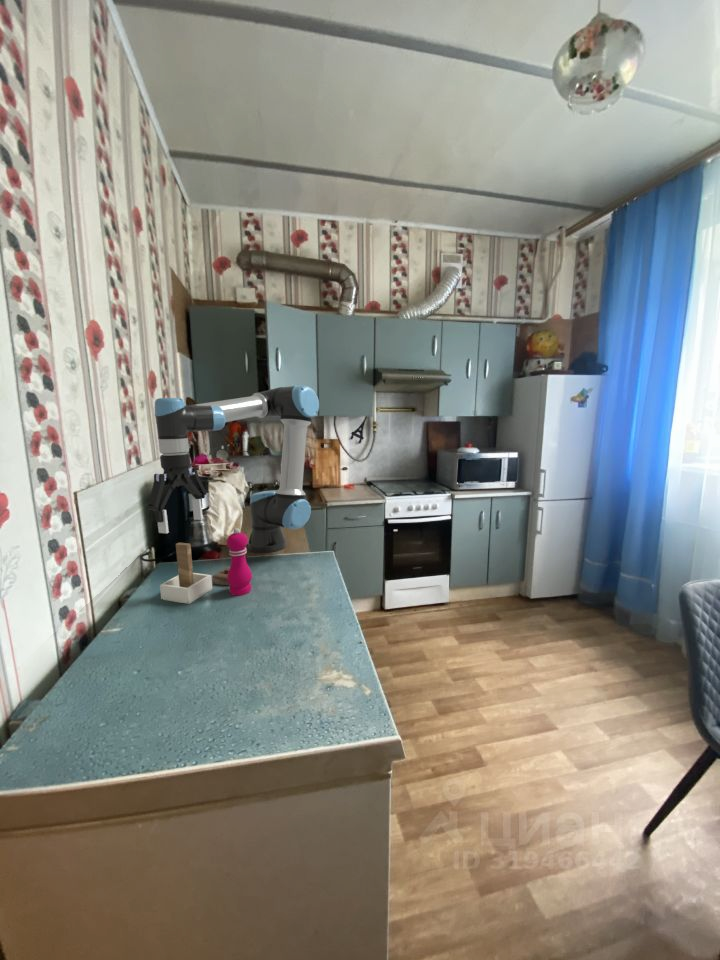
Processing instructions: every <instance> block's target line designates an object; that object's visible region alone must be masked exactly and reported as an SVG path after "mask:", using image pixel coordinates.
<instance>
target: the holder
mask: <svg viewBox="0 0 720 960" xmlns="http://www.w3.org/2000/svg"><path fill="white" fill-rule="evenodd" d="M229 569H230V567H225V568H223V569H222V570H220V571H218V572H216V573H215V574H213V575H212V584H216V583H217V584H216V585H225V586H229V587H230V586H231V585H230V584H229V583H228V581H227V576H228V572H229Z"/></svg>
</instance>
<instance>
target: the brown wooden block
mask: <svg viewBox="0 0 720 960" xmlns="http://www.w3.org/2000/svg"><path fill="white" fill-rule="evenodd" d="M175 550H176V551H175V553H176V561H177V573H178V574H177V575H179V585H180V587H186V588H188V587H190V586H191V585H193V584H194V579H193V573H194V569H193V559H192V558H193V557H192V547H191V543H188V542H187V543H186V542H177V543H175Z"/></svg>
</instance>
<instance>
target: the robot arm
mask: <svg viewBox="0 0 720 960" xmlns="http://www.w3.org/2000/svg"><path fill="white" fill-rule="evenodd" d="M319 409H320V401H319V397H318V395H317V394H316V391H315V390H314V389H313V388H311V387H310V386H307V385H299V384H297V385H293V386H279V387H275V388H271V389H268V390H263V391H260V392H255V393H253V394H252V395H251V396H245V397H238V398H230V399H224V400H217V401H210V402H203V403H198V404H197V403H196V404H192V405H186V404H185V401H184V399H183V398H181V397H178V398H177V397H160V398H157V399H155V401H154V417H155V422H156V430H157V431H156V433H157V440H158V441H157V442H158V449H159V453H160V454H161V455H160V456H159V460H160V467H161V468H162V469H163V472H162V473H155V474H153V485H152V488H151V491H150V496H149V499H148V503H147V506H146V509H147V510H148V511H149V510H151V511H154V517H155V522H156V523H157V528H158V534H168V533H170V531H169V522H168V514H167V509H165V507H166V505H167V502H168V500H169V498H170V496H171V495H172V492H173V491H174V490H175V489H176V488H179V487H181V486H183V487H184V488H185V490H187V491H188V492H189V494H190V495H191V496H192V497H193V498H191V501H192V502H191V503H192V511H193V514H192V515H193V520H194V521H195V520H196V521H202V520H203V518H204V515H203V507H204V506H203V499H205V498H206V495H207V490H206V489H205V486H204V484H203V482H202V480H201V478H200V475H199V473H198V468H197V467H195V466H194V467H191V457H190V454H189V451H190V445H189V438H188V437H189V436H188V433H190V432H214V431H221V430H222V429H223V428H224V427H225V426H226V425H225V424H226V423H228V422H234V421H239V420H245V419H249V418H254V417H257V418H260V419H263V418H270V417H271V418H280V422H282V424H283V437H282V438H283V439H282V449H281V465H280V480H279V488H278V489H277V490H276V489H275V490H273V489H272V490H264V491H259V492H255V493H252V494H251V495H250V497H249V498H250V499H249V508H250V517H251V518H250V519H251V521H250V522H251V531H250V532H251V533H250V535H249V540H248V543H247V547H248V550H249V551H250V552H254V553H258V554H259V553H262V554H263V553H264V554H266V553H272V552H273V553H274V552H277V551H280V550H283V549H284V548H285V547H286V546H287V539H286V537H285V534H284V532H283V530H282V528H285V529H286V530H287V529H288V530H299V529H301V528H303V527H304V526H305V524H307V522H308V521H309V520H310V516H311V512H312V506H311V504H310V502H309V501H308V500H307V499H306V496H307V495H306V493H305V491H304V490H303V483H304V473H305V472H304V470H305V458H306V457H305V455H306V446H307V445H306V444H307V429H308V427H309V426H310V425H311V424H312V419H313V418H314V417H315V416H316V415H317V414H318V412H319V411H320V410H319Z"/></svg>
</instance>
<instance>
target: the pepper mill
mask: <svg viewBox="0 0 720 960" xmlns="http://www.w3.org/2000/svg"><path fill="white" fill-rule="evenodd" d="M248 542H249V540H248V537H247V535H246V534H245V533H243V532H241V531H240V529H239V528H238V527H235V528H234V529H233V533H232V534H230V535H229V536H228V537H227V539H226V546H227V548H229V550H228V553H229V554H228V555H229V556H230V558H231V561H230V566H229V568H230V569H229V572H228V576H227V581H228V583H229V584H230V585H231V586H230V585H229V593H230V595H232V596H235V597H236V596H243V595H247V594H249V593H250V592H251V591H252V585H251V583H250V582H252V580H253V575H252V569H250V567H249V565H248V562H247V559H246V554H247V552H248V551H247V546H248Z"/></svg>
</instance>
